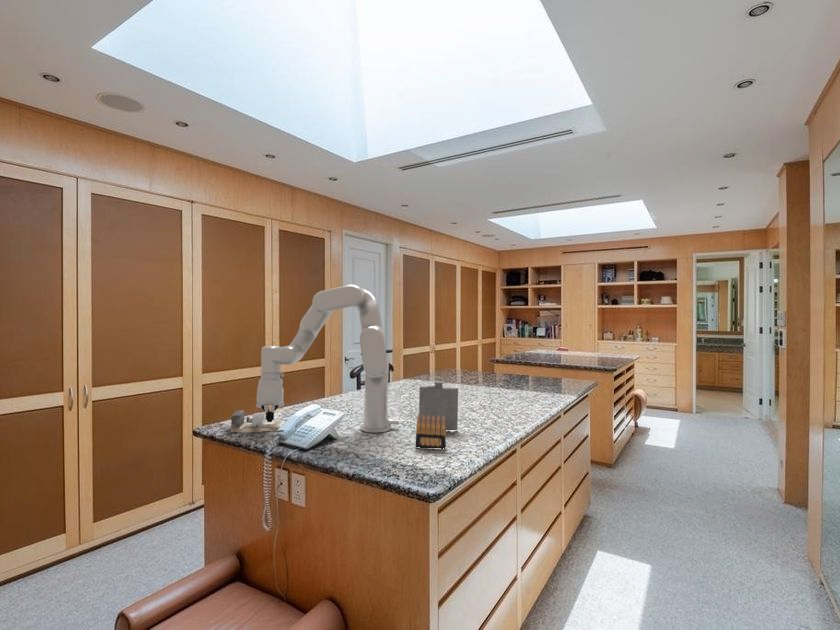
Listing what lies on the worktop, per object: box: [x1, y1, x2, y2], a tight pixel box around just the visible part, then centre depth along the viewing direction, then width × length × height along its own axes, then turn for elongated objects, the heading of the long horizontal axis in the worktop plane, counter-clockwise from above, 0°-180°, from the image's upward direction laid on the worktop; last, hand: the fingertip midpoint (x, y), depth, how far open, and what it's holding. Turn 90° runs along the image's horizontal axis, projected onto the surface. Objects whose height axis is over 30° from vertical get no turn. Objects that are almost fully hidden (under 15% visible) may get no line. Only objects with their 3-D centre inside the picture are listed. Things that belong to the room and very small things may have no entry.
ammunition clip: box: [414, 413, 447, 449], centre depth 153 cm, size 11×2×12 cm, turn 81°
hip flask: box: [418, 381, 459, 431], centre depth 177 cm, size 16×4×20 cm, turn 80°
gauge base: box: [230, 410, 286, 433], centre depth 174 cm, size 20×10×6 cm, turn 101°
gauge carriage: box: [246, 412, 267, 427], centre depth 173 cm, size 6×9×4 cm
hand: (269, 421), depth 175 cm, fingers closed
